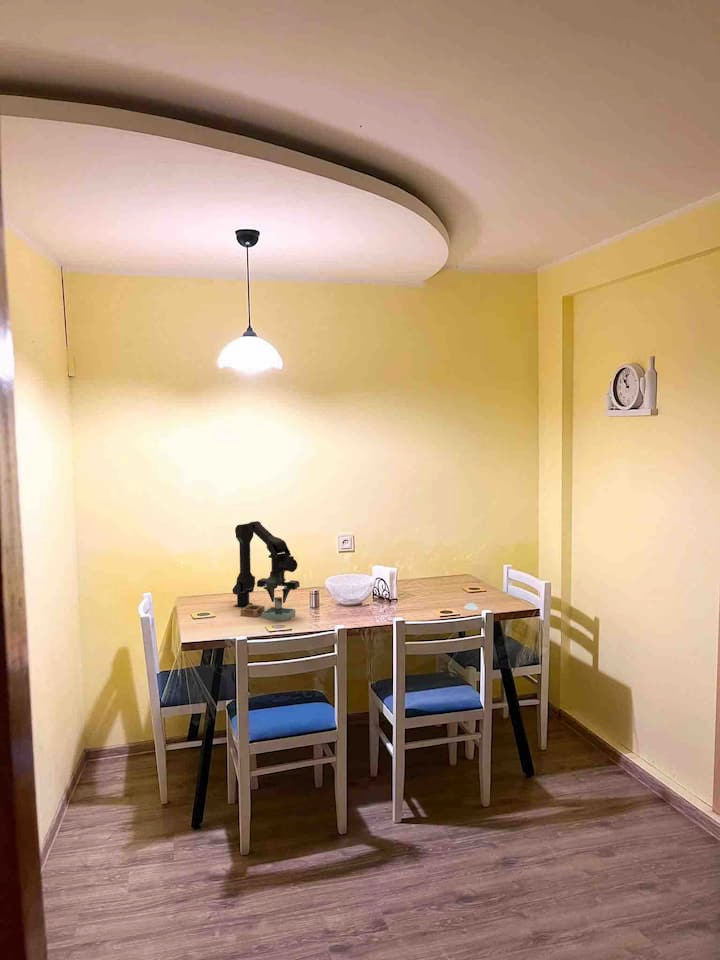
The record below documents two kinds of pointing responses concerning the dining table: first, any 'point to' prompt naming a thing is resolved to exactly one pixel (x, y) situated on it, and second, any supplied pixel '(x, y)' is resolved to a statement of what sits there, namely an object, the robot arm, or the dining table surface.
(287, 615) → the tray
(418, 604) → the dining table surface
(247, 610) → the socket block
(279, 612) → the pin
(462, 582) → the dining table surface
